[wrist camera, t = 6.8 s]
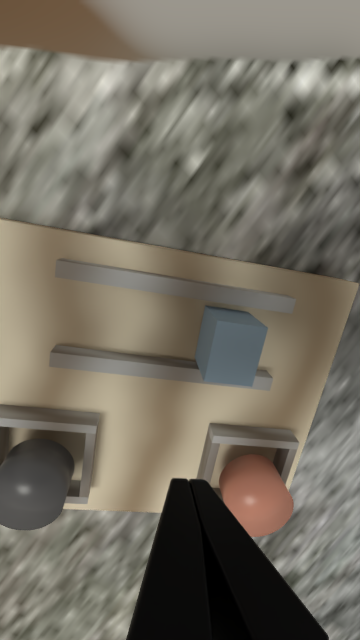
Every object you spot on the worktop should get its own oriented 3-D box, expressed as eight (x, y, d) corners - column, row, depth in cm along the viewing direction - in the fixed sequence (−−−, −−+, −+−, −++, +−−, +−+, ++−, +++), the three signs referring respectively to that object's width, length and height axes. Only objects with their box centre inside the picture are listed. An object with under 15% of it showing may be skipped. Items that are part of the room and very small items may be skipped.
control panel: (-9, 479, 20) (-37, 523, 17) (-6, 216, 16) (-43, 213, 12) (268, 493, 23) (287, 533, 20) (337, 278, 19) (375, 287, 16)
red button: (213, 500, 18) (222, 535, 16) (226, 452, 17) (237, 482, 15) (268, 503, 19) (283, 537, 17) (283, 456, 18) (301, 486, 16)
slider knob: (194, 357, 17) (203, 381, 14) (205, 305, 16) (217, 320, 13) (235, 362, 17) (252, 386, 14) (247, 311, 16) (268, 327, 13)
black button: (4, 491, 16) (-17, 529, 14) (5, 436, 15) (-17, 467, 13) (71, 494, 17) (61, 531, 15) (77, 441, 16) (66, 472, 14)
